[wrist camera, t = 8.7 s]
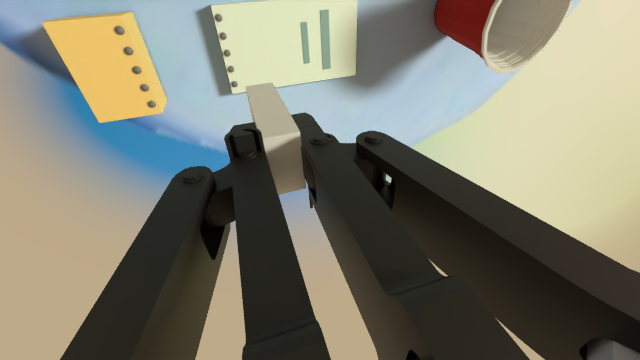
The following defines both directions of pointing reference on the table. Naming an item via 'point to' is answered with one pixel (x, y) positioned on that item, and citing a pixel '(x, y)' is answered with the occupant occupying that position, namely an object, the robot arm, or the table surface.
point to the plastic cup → (502, 28)
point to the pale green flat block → (286, 41)
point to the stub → (109, 64)
